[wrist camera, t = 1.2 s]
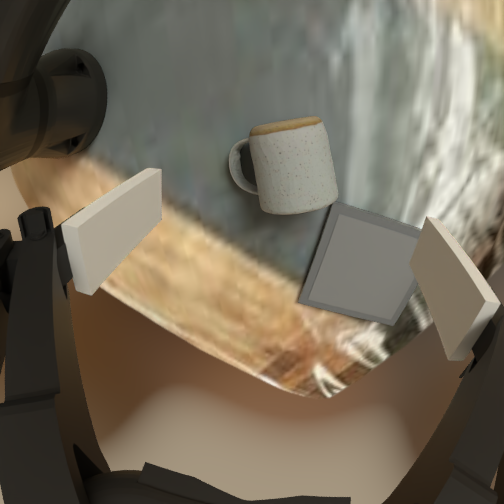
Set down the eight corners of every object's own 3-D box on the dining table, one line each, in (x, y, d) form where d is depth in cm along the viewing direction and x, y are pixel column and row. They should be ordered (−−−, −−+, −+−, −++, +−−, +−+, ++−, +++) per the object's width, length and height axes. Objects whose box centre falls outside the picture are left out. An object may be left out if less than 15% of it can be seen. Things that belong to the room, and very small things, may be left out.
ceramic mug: (322, 111, 28) (324, 115, 22) (336, 185, 32) (341, 212, 25) (223, 131, 31) (197, 143, 25) (242, 201, 35) (224, 229, 28)
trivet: (298, 299, 40) (297, 303, 39) (332, 200, 33) (333, 203, 32) (392, 322, 39) (393, 326, 38) (438, 235, 32) (441, 238, 31)
